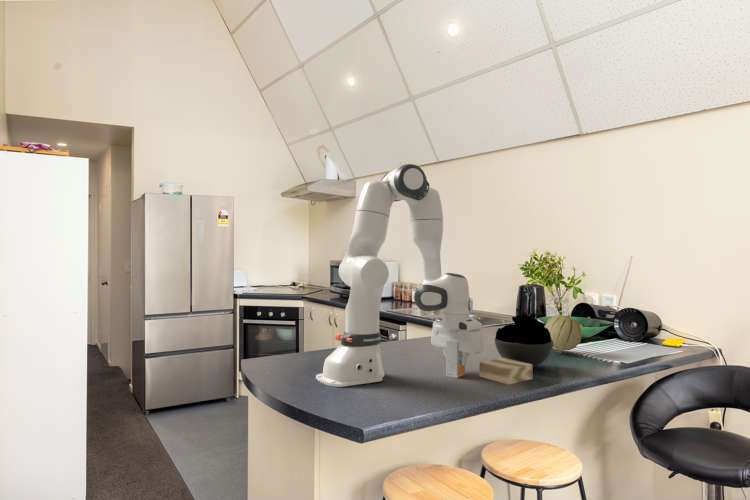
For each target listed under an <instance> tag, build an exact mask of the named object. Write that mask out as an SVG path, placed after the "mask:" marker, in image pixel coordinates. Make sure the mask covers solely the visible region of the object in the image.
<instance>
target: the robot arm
mask: <svg viewBox="0 0 750 500" xmlns="http://www.w3.org/2000/svg"><path fill="white" fill-rule="evenodd" d="M400 201H405V202H406V203H407V206H408V208H409V211H410V212H409V213H410V216H409V217H410V218H409V220H410V222H409V223H410V232H411V236H412V240H413V242H414V244H415V245H416V246H417V248H418V250H419V252H420V253H421V257H422V259H421V260H422V269H423V271H422V273H423V280H422V284H421V285H420V286H418V288H417V289H416V290H415V292H414V295H413V300H414V304H415V305H416V307H417V308H419V309H418V310H421V311H423V312H425V313H426V312H428V313H430V312H431V313H432V312H435V311H440V310H441V311H442V315H441V316H442V319H440V318H436V319H435V320H434V321H433V323H432V328H431V335H430V336H431V337H430V342H431V344H432V346H434V347H438V348H442V353H443V354H444V356H445V357H446V341H447V340H453V341H458V351H461V352H462V355H463V357H462V359H460V365H465V366H467V360H468V358H469V356H470V354H471V355H480V354H481V353H483V351H484V340H483V339H484V337H483V333H482V331H481V329H482V328H483V324H482V323H481V322H480V321H478V320H476V319H475V318H473V317H472V316H470V310H469V304H470V303H469V301H470V290H469V289H470V287H469V282H468V279H467V278H466V277H465V276H464V275H462V274H460V273H459V274H458V273H453V272H452V273H451V272H446V273H444V274H443V275H442V266H441V248H442V242H443V241H442V240H443V232H444V213H443V206H442V201H441V196H440V194H439V191H437V189H434V188H432V187H430V183H429V181H428V180H427V175H426V173H425V171H424V170H423V169H422V168H421V167H420V166H418V165H416V164H414V163H413V164H412V163H407V164H402V165H401V166H397V167H395V168H393V169H391V170H390V171H388V172H386V174H385V175H383V177H382V178H381V179H380V180H378V179H377V180H374V179H373V180H369V181H367V182H366V183H365V184H364V185H363V187H362V189H361V192H360V194H359V198H358V202H357V205H356V211H355V217H354V221H353V227H352V231H351V236H350V239H349V242H348V245H347V247H346V249H345V252H344V255H343V256H344V257H343V258H342V261H341V262H340V264H339V267H338V277H339V278H340V280H341V281H342V282H343V283H344V284H345V285H346V286H348V287H349V288H350V290H349V291H350V292H349V297H348V300H347V301H348V302H347V303H346V306H345V308H344V309H345V316H344V317H345V321H344V322H345V326H344V327H345V328H344V329H345V331H344V332H343V334H339V333H335V335H334V340H335V341H339V342H340V345H338V347H337V348H336V349H334V350H333V351H332V353H330V354H329V355H328V356H326V357H325V359H324V363H323V366H322V367H323V369H322V373H317V374H315V380H316V379H317V380H318V381H317V380H316V381H317V382H319V381H320V382H319V383H321V382H322V383H321V384H323V383H324V384H323V385H326V386H330V387H334V388H344V387H350V386H357V385H363V384H371V383H378V382H382V381H383V378H384V377H385V372H384V368H383V367H384V366H383V362H382V358H381V357H382V355H381V349H380V348H381V342H382V339H381V338H382V336H381V335H382V334H381V333H382V332H381V331H380V309H381V308H380V307H381V301H382V297H383V291H384V287H385V285H386V284H387V282H388V279H389V277H390V276H389V275H390V274H389V268H388V265H387V264H386V263H385V261H383V260H382V259H380V258H378V255H379V252H380V250H381V248H382V246H383V244H384V243H385V241H386V237H387V233H388V226H389V221H390V214H391V208H392V206H393V203H395V202H400Z"/></svg>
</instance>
